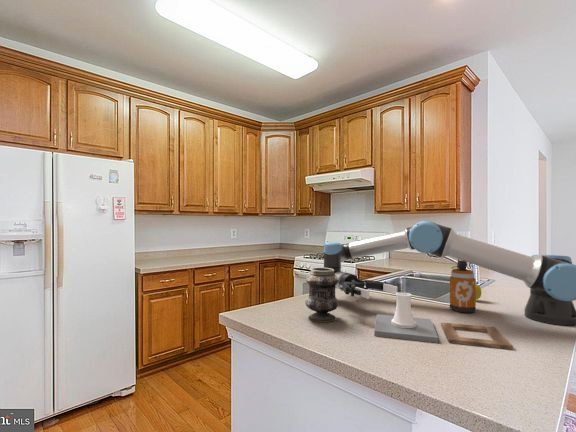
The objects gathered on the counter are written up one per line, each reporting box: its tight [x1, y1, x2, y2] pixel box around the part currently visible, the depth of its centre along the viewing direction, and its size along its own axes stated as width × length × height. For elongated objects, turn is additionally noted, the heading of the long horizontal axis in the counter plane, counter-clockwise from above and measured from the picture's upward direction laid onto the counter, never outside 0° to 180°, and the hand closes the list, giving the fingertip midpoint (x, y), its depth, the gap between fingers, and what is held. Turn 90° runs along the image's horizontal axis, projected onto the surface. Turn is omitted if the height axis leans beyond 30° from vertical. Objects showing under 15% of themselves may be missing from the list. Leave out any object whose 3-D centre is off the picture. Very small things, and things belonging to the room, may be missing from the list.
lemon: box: [476, 283, 482, 301], centre depth 140 cm, size 6×6×8 cm
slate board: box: [374, 313, 439, 344], centre depth 104 cm, size 18×18×2 cm
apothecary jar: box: [304, 266, 340, 323], centre depth 115 cm, size 12×12×18 cm
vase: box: [392, 291, 416, 328], centre depth 104 cm, size 8×8×10 cm
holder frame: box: [440, 321, 514, 351], centre depth 98 cm, size 16×16×1 cm
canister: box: [449, 259, 477, 314], centre depth 126 cm, size 9×11×20 cm
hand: (382, 292), depth 112 cm, fingers open, 13 cm apart
